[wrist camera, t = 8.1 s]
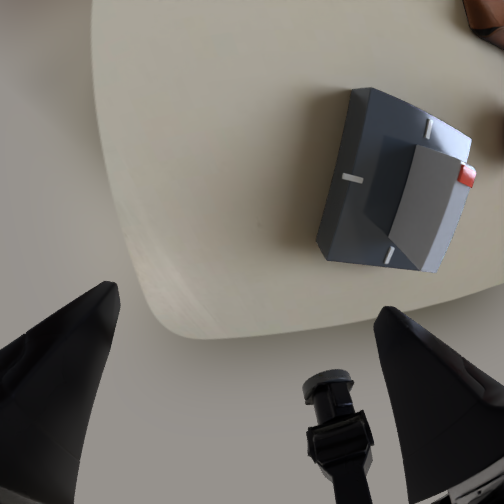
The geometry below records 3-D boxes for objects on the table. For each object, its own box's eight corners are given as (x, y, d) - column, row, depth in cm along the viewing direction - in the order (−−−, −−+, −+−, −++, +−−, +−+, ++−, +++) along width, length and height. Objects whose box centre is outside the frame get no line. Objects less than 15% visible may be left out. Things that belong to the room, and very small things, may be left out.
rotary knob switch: (414, 255, 22) (432, 273, 20) (308, 239, 21) (318, 261, 18) (453, 134, 16) (477, 142, 14) (343, 86, 15) (363, 83, 12)
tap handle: (403, 240, 18) (438, 275, 14) (387, 237, 18) (421, 274, 13) (432, 151, 14) (478, 169, 10) (416, 143, 14) (463, 160, 10)
